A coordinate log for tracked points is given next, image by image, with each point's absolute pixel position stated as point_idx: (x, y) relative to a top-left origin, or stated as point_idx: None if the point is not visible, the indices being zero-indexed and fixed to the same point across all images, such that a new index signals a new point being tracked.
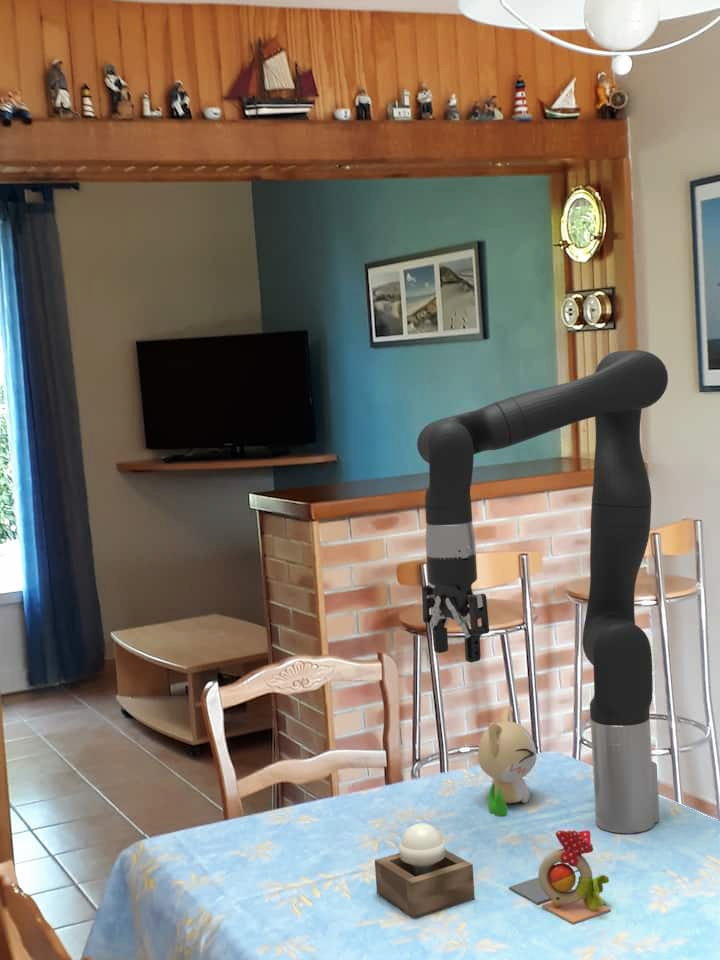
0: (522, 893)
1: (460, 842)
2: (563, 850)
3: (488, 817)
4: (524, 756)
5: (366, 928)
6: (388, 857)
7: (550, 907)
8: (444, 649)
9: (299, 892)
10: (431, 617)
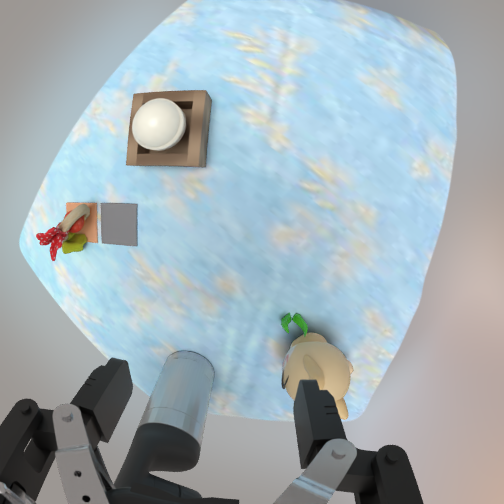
0: (119, 204)
1: (258, 241)
2: (59, 228)
3: (290, 305)
4: (283, 377)
5: (162, 63)
6: (200, 105)
7: (89, 205)
8: (296, 403)
9: (269, 52)
10: (365, 478)
